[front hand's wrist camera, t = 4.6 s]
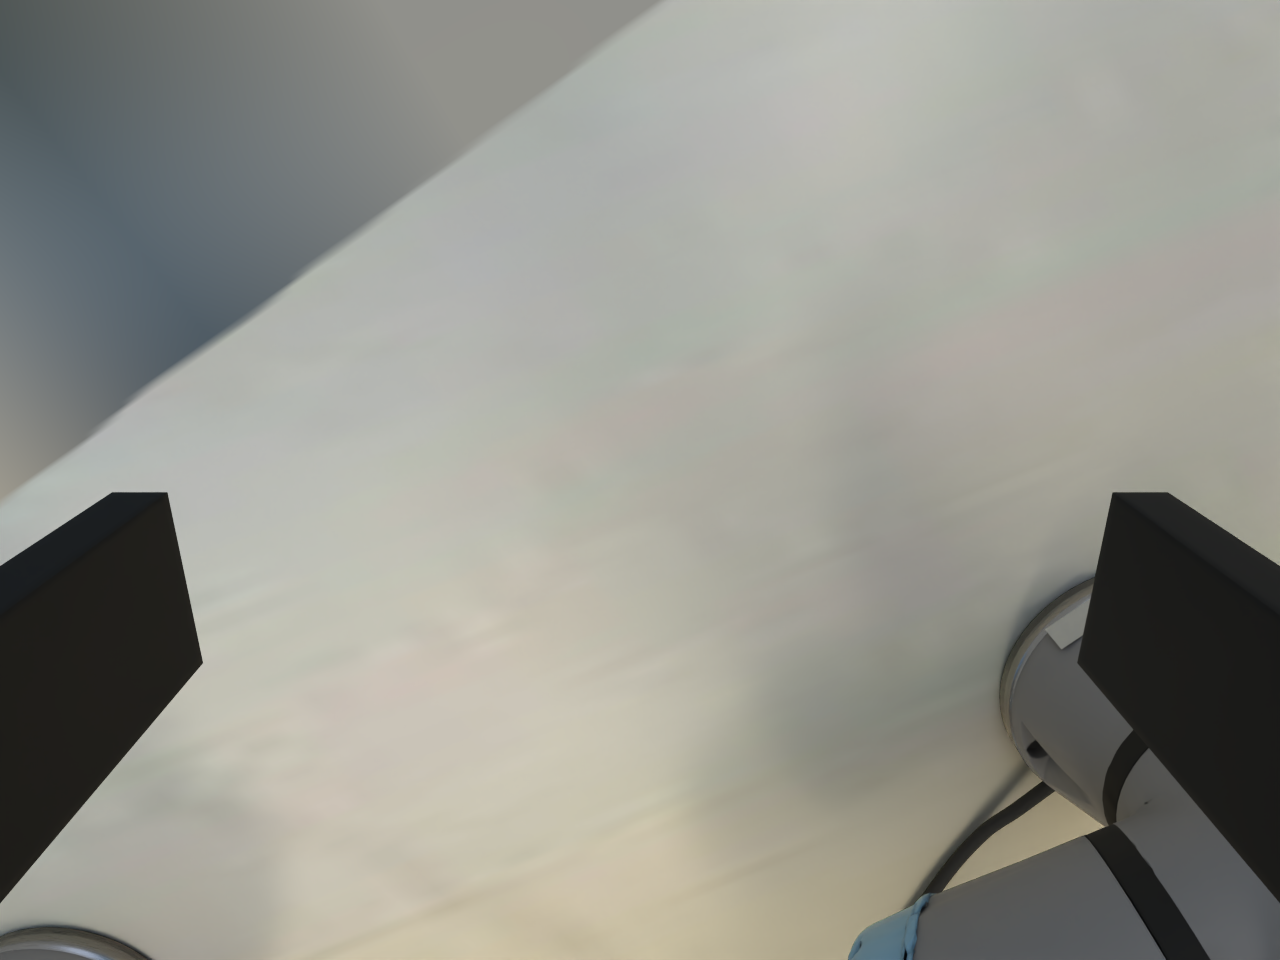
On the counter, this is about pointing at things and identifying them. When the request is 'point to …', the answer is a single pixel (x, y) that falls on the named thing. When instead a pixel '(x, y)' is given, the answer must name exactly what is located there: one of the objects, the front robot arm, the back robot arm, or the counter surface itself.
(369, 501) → the counter surface
